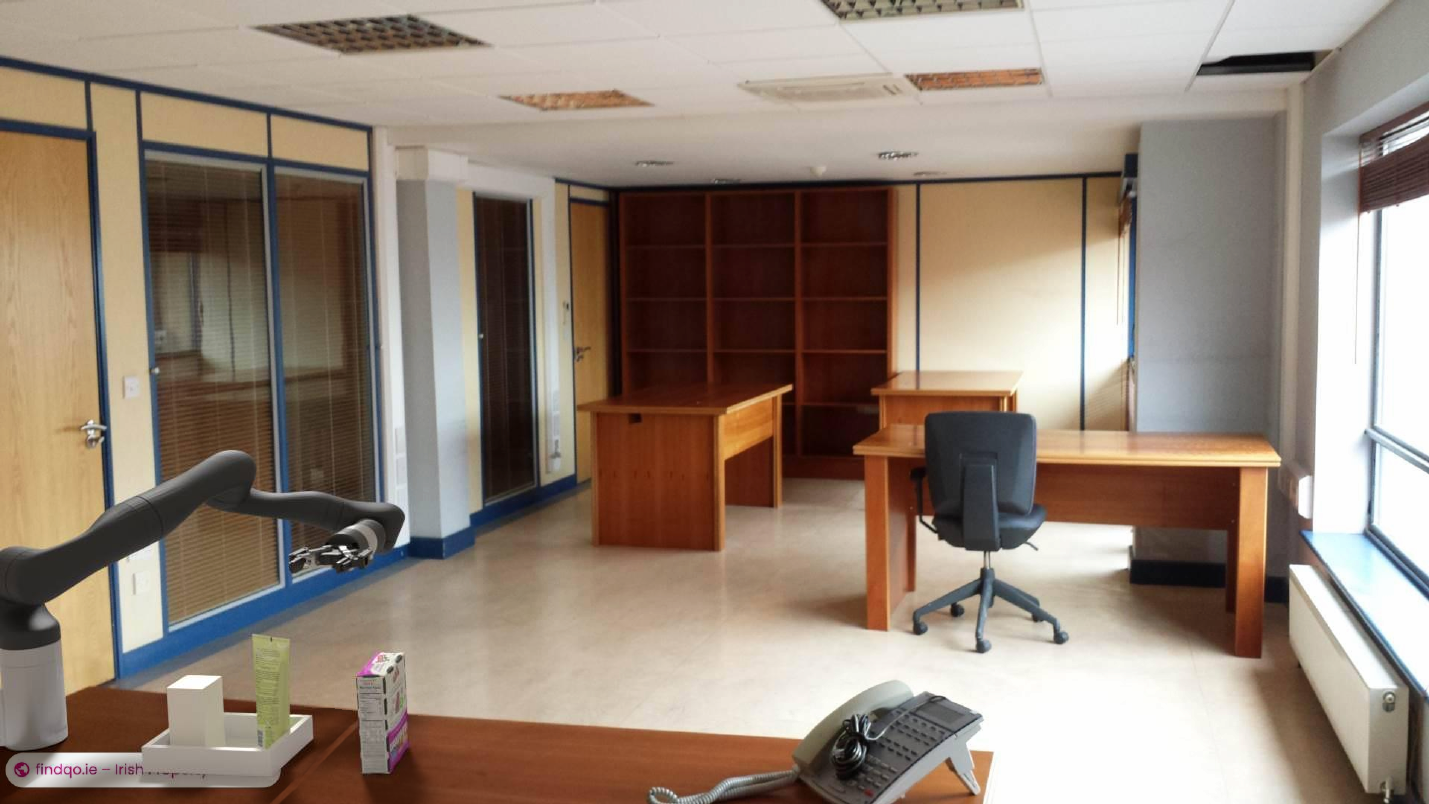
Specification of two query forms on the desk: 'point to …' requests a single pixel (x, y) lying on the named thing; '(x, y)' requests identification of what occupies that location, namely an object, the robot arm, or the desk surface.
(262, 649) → the tube
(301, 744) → the tote
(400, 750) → the candy bar box
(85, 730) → the desk surface
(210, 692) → the carton
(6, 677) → the robot arm
